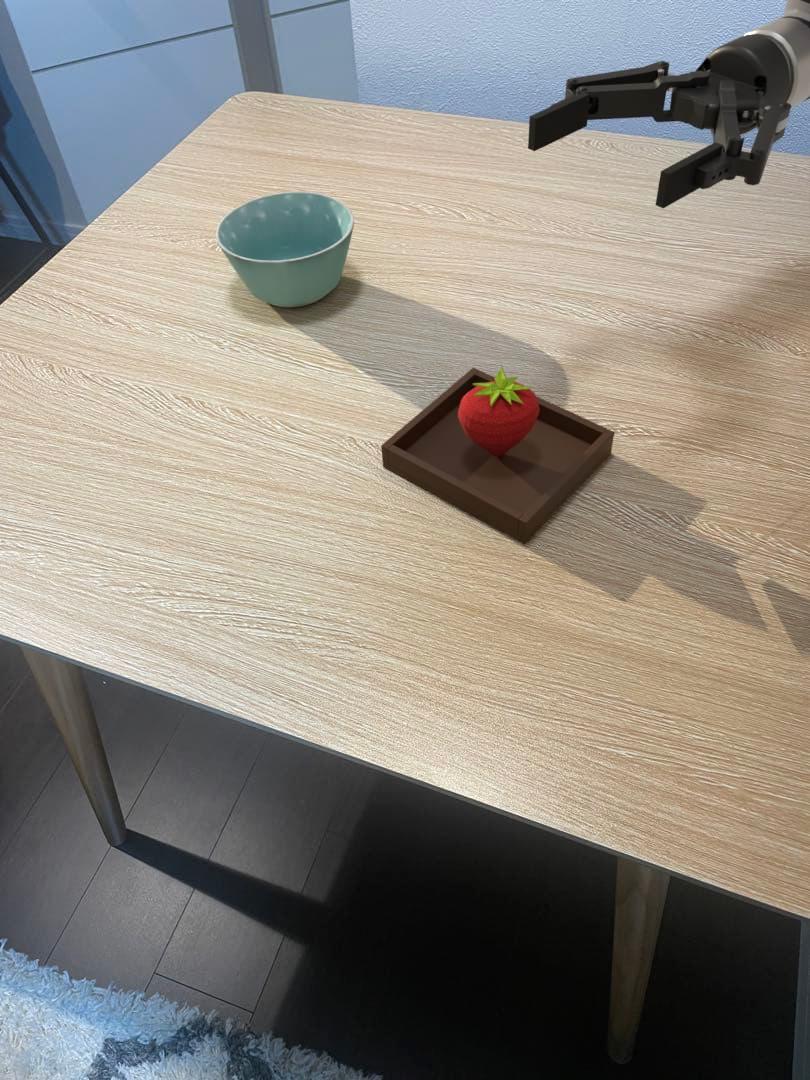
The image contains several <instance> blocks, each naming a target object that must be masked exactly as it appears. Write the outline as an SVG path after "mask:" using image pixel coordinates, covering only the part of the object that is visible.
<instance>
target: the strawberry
mask: <svg viewBox="0 0 810 1080" xmlns="http://www.w3.org/2000/svg"><path fill="white" fill-rule="evenodd" d="M499 366H500V369H499V370H498V372H496V374H495V376H494V377H495V381H492V382H487V383H473V385H475V386H477V387H475V388H474V389H472V390H471V391H469V392H468V393H467V394H466V395H465V396H464V397H463V398H462V400H461V403H460V407H459V411H458V418H459V420H460V423H461V425H462V427H463V430H464V432H465V434H466V435H467V436H468V437H469V438H471V439H472V440H473V441H474V442H475V443H476V444H477V445H478V446H480V447H481V448H483V449H485V450H486V451H488V452H489V453H490V454H491V455H493V456H502V455H504V454H505V453H507V452H508V451H509V450H510V449H511V448H513V447H514V446H516V445H517V444H518V443H519V442H520V441H521V440H522V439H523V438H524V437H525V436H526V435H527V434H528V433H529V432H530V431H531V430H532V428H533V426H534V423H535V421H536V419H537V417H538V415H539V405H538V400H537V397H538V396H537V394H536V392H534V391H533V390H532V387H530V386H529V387H528V386H526V385H524V384H522V383H520V382H516V381H517V380H518V378H519V376H513V377H507V375H506V373H505V370H504V367H503V364H501V363H500V364H499Z"/></svg>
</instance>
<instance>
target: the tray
mask: <svg viewBox="0 0 810 1080" xmlns="http://www.w3.org/2000/svg"><path fill="white" fill-rule="evenodd" d="M492 381H495V376H493V375H491V374H489V373H487V372H484V371H483V370H479V369H478V368H475V367H472V368H471V369H469V371H467V372H466V373H465V374H463V376H461V377H460V378H458V380H457V381H455V382H454V383H453V384H452V385H451V386H450V387H448V388H447V389H446V390H445V391H444V392H443V393H441V394H440V395H439V396H438V397H437V398H435V399H434V400H433V401H432V402H431V403H429V404H428V405H427V406H426V407H425V408H423V410H422V411H420V412H419V413H418V414H416V415H415V416H414V417H413V418H412V419H410V421H408V422H407V423H405V424H404V426H402V427H401V428H400V429H398V431H396V432H395V433H393V435H392V436H391V437H389V438H388V439H387V440H386V441H384V443H382V444H381V445H380V448H381V460H382V467H383V468H385V469H386V470H389V471H390V472H392V473H394V474H396V475H397V476H399V477H401V478H403V479H405V480H406V481H409V482H410V483H412V484H415V485H416V486H418V487H419V488H421V489H424V490H425V491H426V492H428V493H431V494H433V495H434V496H435V497H438V498H440V499H441V500H443V501H445V502H447V503H449V504H451V505H453V506H454V507H456V508H458V509H460V510H462V511H463V512H466V513H468V514H469V515H471V516H472V517H474V518H476V519H478V520H480V521H482V522H483V523H485V524H487V525H489V526H491V527H493V528H494V529H496V530H498V531H500V532H502V533H504V534H506V535H508V536H509V537H511V538H513V539H515V540H517V542H520V543H522V544H523V545H526V544H527V543H528V542H529V541H530V539H531V538H533V536H534V535H535V534H536V533H537V532H538V531H539V530H540V529H541V528H542V527H543V526H544V525H545V524H546V523H547V522H548V521H549V519H550V518H551V517H552V516H553V515H554V514H555V513H557V511H558V510H559V509H560V508H561V507H562V506H563V505H564V504H565V502H567V501H568V499H570V497H571V496H572V495H573V494H574V493H575V492H576V491H577V490H578V489H579V488H580V487H581V486H582V484H584V483H585V481H587V479H588V478H589V477H590V476H591V475H593V473H594V472H595V471H596V470H597V469H598V468H599V467H600V466H601V465H602V464H603V463H604V462H605V460H607V458H609V457H610V455H611V454H612V449H613V443H614V437H615V431H613V430H611V429H609V428H607V427H605V426H602V425H601V424H598V423H596V422H594V421H591V420H589V419H587V418H585V417H583V416H581V415H578V414H576V413H574V412H572V411H569V410H567V409H565V408H563V407H561V406H559V405H556V404H554V403H552V402H550V401H548V400H545V399H544V398H541V397H539V396H537V400H538V405H539V415H538V417H537V419H536V421H535V423H534V426H533V428H532V430H531V431H530V432H529V433H528V434H527V435H526V436H525V437H524V438H523V439H522V440H521V441H520V442H519V443H518V444H517V445H516V446H514V447H513V448H511V449H510V450H509V451H508V452H507V453H505V454H504V455H502V456H493V455H491V454H490V453H489V452H488V451H486V450H485V449H483V448H481V447H480V446H478V445H477V444H476V443H475V442H474V441H473V440H472V439H471V438H469V437H468V436H467V435H466V434H465V432H464V430H463V427H462V425H461V423H460V420H459V418H458V411H459V407H460V403H461V400H462V398H463V397H464V396H465V395H466V394H467V393H468V392H469V391H471V390H472V389H474V388H475V387H477V386H475V385H473V383H487V382H492Z"/></svg>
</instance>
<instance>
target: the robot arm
mask: <svg viewBox="0 0 810 1080" xmlns="http://www.w3.org/2000/svg"><path fill="white" fill-rule="evenodd" d="M785 4H786V5H785V7H784V11H783V12H784V13H783V15H782V16H781V17H779V18H777V19H775V20H774V21H771V22H769V23H767V24H764V25H762V26H760V27H758V28H755V29H752V30H751V31H749V32H746V33H744V34H743V35H742V36H739V37H737V38H735V39H733V40H731V41H729V42H726V43H725V44H722V45H720V46H718V47H716V48H715V49H713V50H712V51H711V52H710V53H709V54H708V55H707V56H706V57H705V58H704V60H703V61H702V62H701V63H700V65H699V66H698V67H697V69H696V70H695V71H690V72H686V73H681V74H678V75H675V74H672V73H670V72H669V70H670V62H669V61H666V60H660V61H656V62H653V63H651V64H648V65H645V66H640V67H635V68H628V69H622V70H617V71H616V70H614V71H609V72H601V73H595V74H589V75H583V76H576V77H570V78H568V79H566V80H565V81H566V82H565V93H564V99H562V100H559V101H557V102H555V103H553V104H551V105H550V106H549V107H546V108H545V109H542V110H540V111H538V112H535V113H534V114H532V115H530V116H529V122H528V137H527V142H528V143H527V149H528V150H530V151H531V152H536V151H538V150H540V149H543V148H544V147H546V146H548V145H550V144H553V143H555V142H557V141H559V140H561V139H564V138H566V137H567V136H569V135H572V134H574V133H576V132H578V131H580V130H582V129H584V128H586V127H588V121H596V120H597V121H599V120H616V119H617V120H619V119H638V118H639V119H640V118H652V119H653V120H654V122H655V123H671V122H680V123H683V124H687V125H690V126H692V127H694V128H696V129H699V130H701V131H703V130H710V133H711V134H712V141H713V142H712V143H711V144H709V145H707V146H705V147H703V148H701V149H699V150H698V151H696V152H694V153H692V154H691V155H688V156H686V157H684V158H683V159H681V160H679V161H677V162H675V163H673V164H671V165H670V166H668V167H666V168H664V169H662V170H661V171H660V173H659V174H660V175H659V180H658V186H657V187H658V188H657V192H656V199H655V206H657V207H658V208H660V209H665V208H667V207H669V206H670V205H672V204H674V203H676V202H678V201H680V200H681V199H683V198H685V197H687V196H689V195H690V194H692V193H694V192H695V191H697V190H699V189H701V190H707V189H710V188H712V187H713V186H715V185H717V184H718V183H720V182H722V181H724V180H725V181H732V180H735V179H736V177H740V178H743V182H744V183H745V184H746V185H749V186H757V185H759V184H760V183H761V180H762V177H763V175H764V172H765V168H766V166H767V163H768V159H769V157H770V154H771V151H772V148H773V145H774V144H775V143H776V142H778V141H779V140H781V139H782V138H783V137H784V135H785V133H786V128H787V125H788V120H789V117H790V113H791V109H792V108H794V107H796V106H798V105H800V104H803V103H804V102H806V101H808V100H810V0H786V3H785ZM667 92H670V93H671V95H670V102H669V103H670V104H669V109H664V108H665V103H666V96H667ZM755 129H757V133H756V136H755V138H754V142H753V145H752V146H751V150H750V152H749V151H745V150H743V146H744V141H745V136H743V137H742V136H741V135H745V134H747V133H750V132H751V131H753V130H755Z"/></svg>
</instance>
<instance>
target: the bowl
mask: <svg viewBox="0 0 810 1080" xmlns="http://www.w3.org/2000/svg"><path fill="white" fill-rule="evenodd" d="M354 227H355V217H354V214H353V212H352V210H351V209H350V208H349V206H347V204H345V203H344V202H343V201H341V200H340V199H338V198H335V197H333V196H330V195H328V194H323V193H319V192H312V191H284V192H283V191H282V192H278V193H277V192H276V193H272V194H271V193H270V194H266V195H262V196H259V197H257V198H253V199H251V200H248V201H246V202H244V203H242V204H240V205H238V206H237V207H235V208H233V209H232V210H231V211H229V212H228V213H227V214H226V215H225V216H224V217H223V218H221V220H220V222H219V223H218V224H217V228H216V231H215V240H216V243H217V244H218V247H220V250H221V251H222V253H223V255H224V257H225V258H226V259H227V261H228V262H229V264H230V265H231V267H232V269H233V270H234V271H235V273H236V275H238V278H239V279H240V280H241V281H242V283H243V284H244V286H245V287H246V288H247V290H248V291H249V293H250V294H251V295H252V296H254V297H255V298H256V299H258V300H259V301H262V302H264V303H266V304H269V305H272V306H275V307H279V308H299V307H300V308H301V307H304V306H308V305H312V304H313V303H316V302H318V301H319V300H322V299H323V298H324V297H325V296H327V295H328V294H329V293H330V292H332V291H333V290H334V289H335V288H336V287H337V286H338V284H339V283H340V280H341V278H342V274H343V271H344V267H345V263H346V259H347V256H348V253H349V249H350V246H351V245H350V244H351V241H352V235H353V231H354Z"/></svg>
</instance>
